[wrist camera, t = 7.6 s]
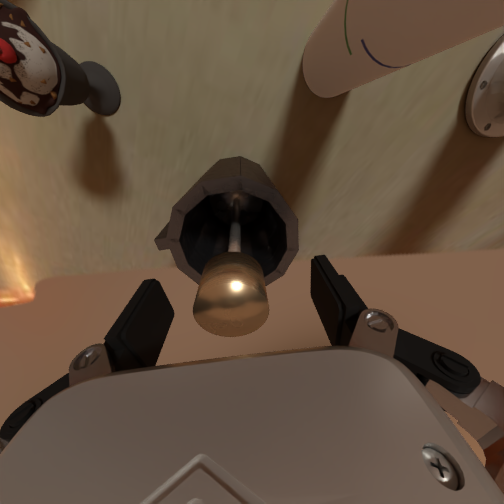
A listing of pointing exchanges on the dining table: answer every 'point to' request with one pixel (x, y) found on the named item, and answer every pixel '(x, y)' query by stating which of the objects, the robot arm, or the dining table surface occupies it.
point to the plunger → (232, 275)
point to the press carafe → (218, 232)
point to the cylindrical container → (388, 38)
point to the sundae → (47, 71)
